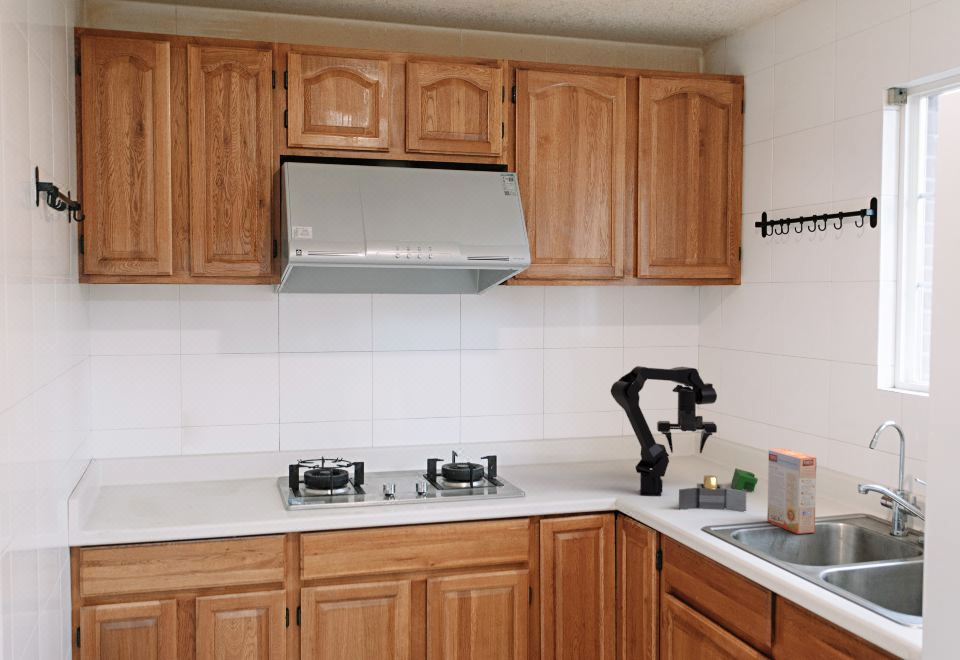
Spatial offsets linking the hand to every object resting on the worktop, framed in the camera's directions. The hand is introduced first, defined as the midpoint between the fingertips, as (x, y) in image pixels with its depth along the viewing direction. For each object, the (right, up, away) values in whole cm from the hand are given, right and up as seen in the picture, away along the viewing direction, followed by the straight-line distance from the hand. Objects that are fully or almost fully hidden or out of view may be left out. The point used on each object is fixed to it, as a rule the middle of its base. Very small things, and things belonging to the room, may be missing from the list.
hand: (686, 452), depth 294 cm
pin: (+2, -13, -22) cm, 26 cm away
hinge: (+2, -13, -23) cm, 27 cm away
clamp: (+19, -12, 0) cm, 23 cm away
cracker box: (+18, -15, -46) cm, 52 cm away
